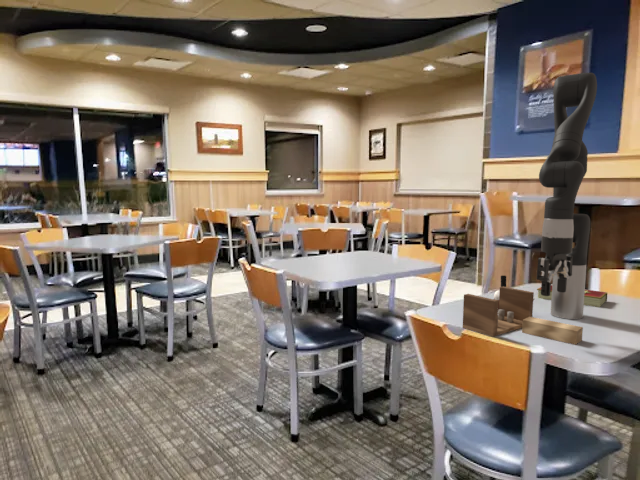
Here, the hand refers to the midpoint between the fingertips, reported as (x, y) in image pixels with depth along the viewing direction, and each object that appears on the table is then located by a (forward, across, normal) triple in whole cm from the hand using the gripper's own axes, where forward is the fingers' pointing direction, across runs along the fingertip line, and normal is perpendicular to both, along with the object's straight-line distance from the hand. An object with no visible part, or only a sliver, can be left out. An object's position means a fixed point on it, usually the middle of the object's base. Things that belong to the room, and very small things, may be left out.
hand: (553, 293), depth 123 cm
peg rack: (+12, +4, -14) cm, 19 cm away
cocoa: (+12, -14, -24) cm, 30 cm away
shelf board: (+12, 0, 0) cm, 12 cm away
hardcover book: (+12, -49, -18) cm, 54 cm away
